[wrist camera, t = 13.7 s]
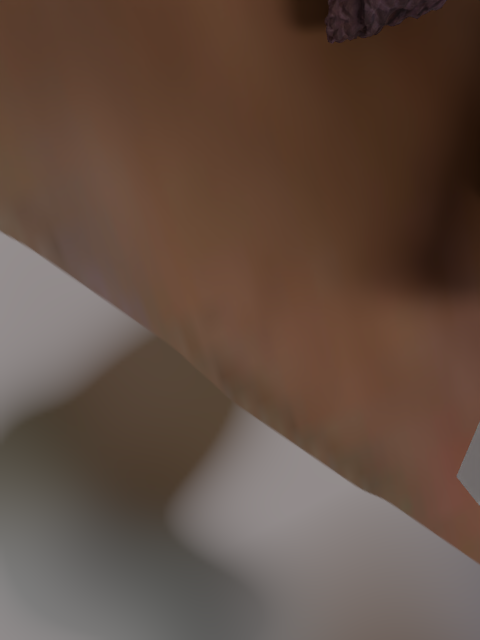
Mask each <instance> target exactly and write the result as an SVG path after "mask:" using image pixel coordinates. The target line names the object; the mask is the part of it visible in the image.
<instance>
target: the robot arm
mask: <svg viewBox="0 0 480 640" xmlns="http://www.w3.org/2000/svg"><path fill="white" fill-rule="evenodd" d="M457 478H458V479H459V480H460V482H461V483H462V484H463V485H464V487H465V488H466V489H467V490H468V492H469V493H470V494H471V495H472V497H473V498H474V499H475V500H476V502H477V503H478V504H479V505H480V422H479V424H478V427H477V429H476V432H475V434H474V436H473V439H472V441H471V443H470V446H469V448H468V451H467V453H466V455H465V458H464V460H463V462H462V465H461V467H460V469H459V472H458V474H457Z"/></svg>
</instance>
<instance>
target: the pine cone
mask: <svg viewBox="0 0 480 640" xmlns="http://www.w3.org/2000/svg"><path fill="white" fill-rule="evenodd" d="M446 1H447V0H328V5H329V13H328V15H327V17H326V18H325V24H326V26H327V27H326V33H327V39H328V42H330V43H333V42H334V41H336V42H338V43H341V42H343V41H345V40H346V39H348V40H352V39H355V38H357V36H359V37H361V38H366V37H368V36H369V37H371V36H372V35H376V34H377V33H379V32H380V31H381V29H382V28H383V26H385V25H389V26H395V25H397V24H400V23H401V22H402V21H403V20H404V19H405V18H407V17H413V18H416V19H418V18H419V17H420V16H422V15H424V14H426V13H428V12H429V11H430V10H438V9H440V8H442V6H443V5H444V3H445V2H446Z"/></svg>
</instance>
